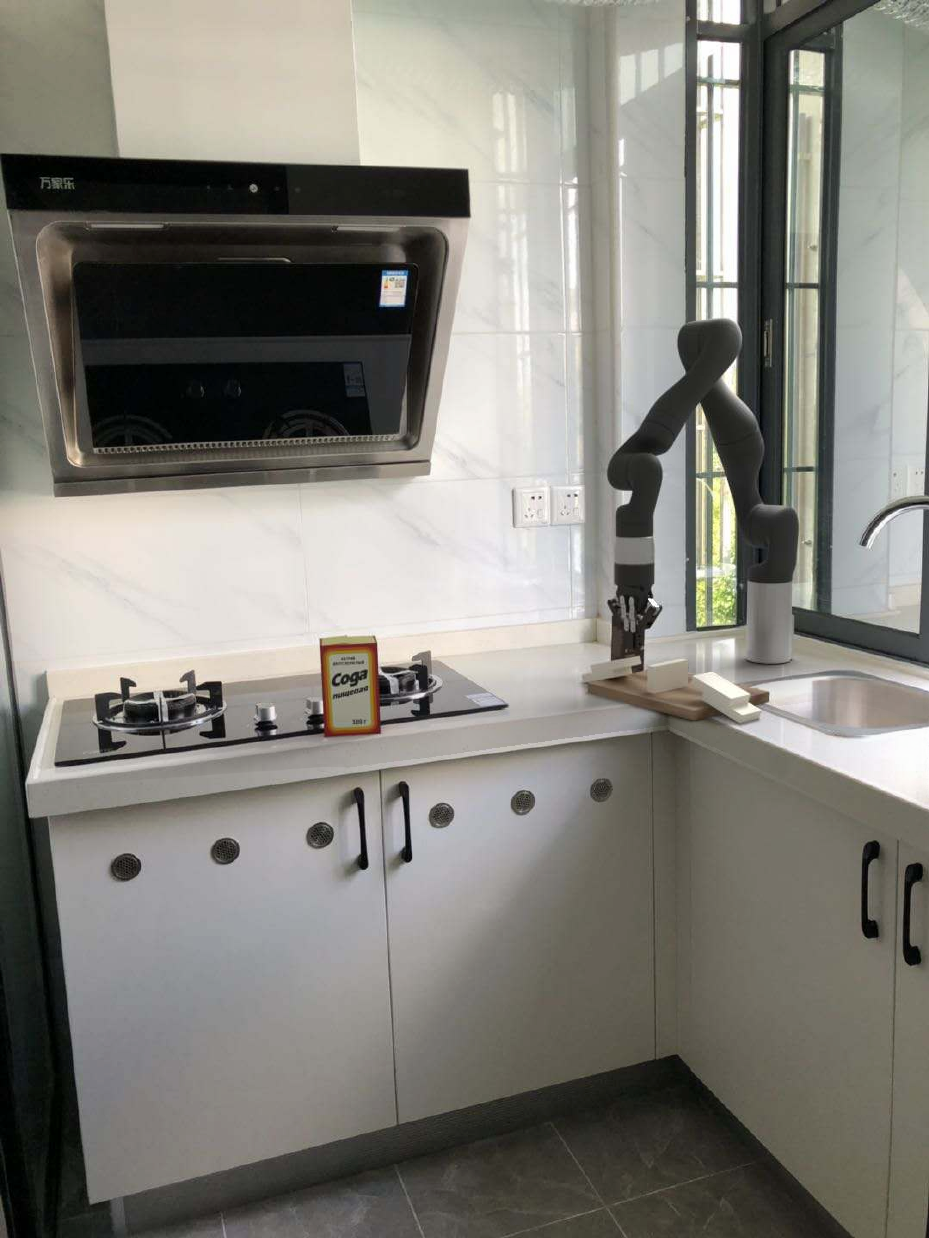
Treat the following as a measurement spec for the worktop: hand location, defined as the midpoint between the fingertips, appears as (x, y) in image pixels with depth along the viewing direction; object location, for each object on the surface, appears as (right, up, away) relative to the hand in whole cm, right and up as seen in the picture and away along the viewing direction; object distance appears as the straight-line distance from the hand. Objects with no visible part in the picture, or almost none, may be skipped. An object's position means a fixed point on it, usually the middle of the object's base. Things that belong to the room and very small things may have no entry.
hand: (634, 650), depth 194 cm
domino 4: (+10, -4, -13) cm, 17 cm away
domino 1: (0, -2, +1) cm, 2 cm away
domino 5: (+11, -7, -15) cm, 20 cm away
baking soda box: (-52, -13, -20) cm, 57 cm away
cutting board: (+7, -9, -3) cm, 12 cm away
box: (+2, -5, +18) cm, 19 cm away
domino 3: (+9, -4, -3) cm, 10 cm away
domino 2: (-2, -4, +3) cm, 6 cm away
